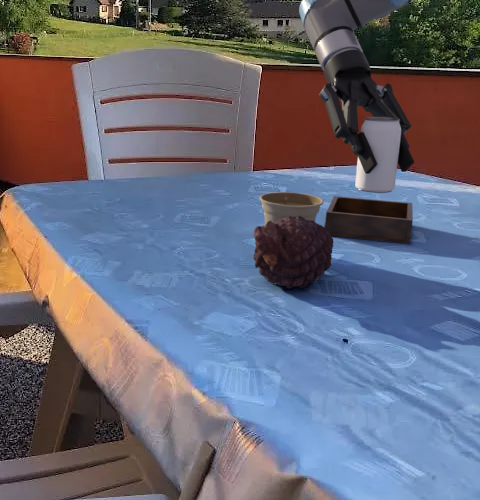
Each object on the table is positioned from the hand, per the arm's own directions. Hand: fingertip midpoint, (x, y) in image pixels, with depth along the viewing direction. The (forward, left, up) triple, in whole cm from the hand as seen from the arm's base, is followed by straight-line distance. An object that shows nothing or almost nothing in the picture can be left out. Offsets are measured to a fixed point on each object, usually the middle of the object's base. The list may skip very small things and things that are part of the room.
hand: (389, 167), depth 117 cm
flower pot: (+13, +17, -12) cm, 25 cm away
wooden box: (+2, -3, -12) cm, 12 cm away
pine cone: (+10, +30, -12) cm, 34 cm away
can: (+2, -3, -5) cm, 6 cm away
